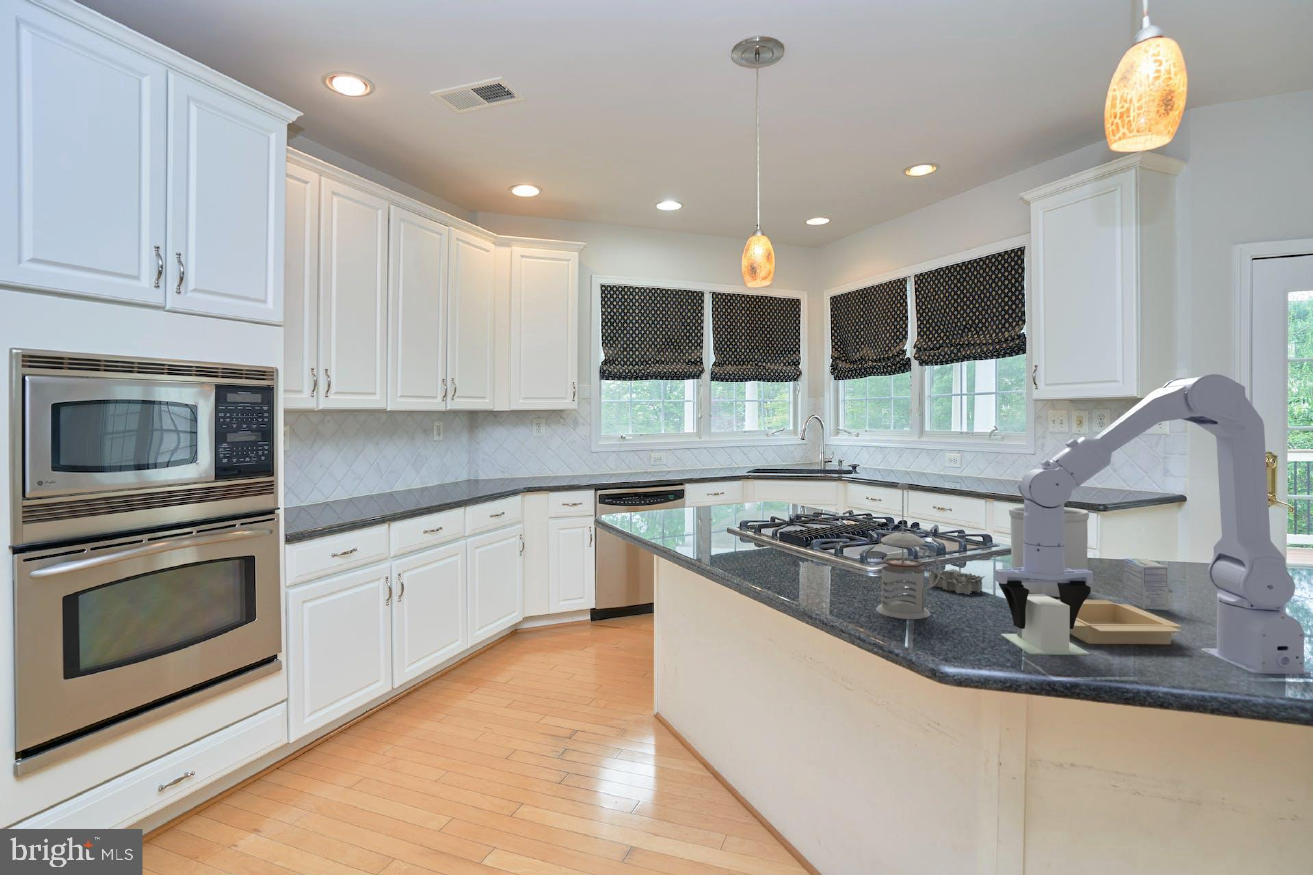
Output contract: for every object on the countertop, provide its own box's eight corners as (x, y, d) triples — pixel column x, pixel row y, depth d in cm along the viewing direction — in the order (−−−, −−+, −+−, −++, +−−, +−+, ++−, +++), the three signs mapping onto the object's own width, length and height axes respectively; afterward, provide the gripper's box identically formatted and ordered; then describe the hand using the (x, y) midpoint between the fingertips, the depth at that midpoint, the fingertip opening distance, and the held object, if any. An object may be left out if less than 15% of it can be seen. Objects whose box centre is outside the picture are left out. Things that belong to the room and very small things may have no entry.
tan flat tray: (1196, 651, 100) (1196, 630, 100) (1085, 651, 101) (1085, 629, 101) (1117, 617, 118) (1117, 599, 118) (1024, 616, 119) (1024, 598, 119)
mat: (1089, 656, 99) (1089, 653, 99) (1030, 656, 99) (1030, 652, 99) (1055, 637, 108) (1055, 633, 108) (1000, 637, 108) (1000, 633, 108)
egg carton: (923, 585, 144) (923, 567, 144) (948, 581, 147) (948, 564, 147) (962, 596, 134) (962, 577, 134) (988, 592, 137) (988, 573, 137)
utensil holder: (993, 584, 143) (993, 507, 142) (1041, 578, 148) (1041, 503, 148) (1054, 601, 129) (1055, 515, 129) (1105, 594, 134) (1106, 511, 134)
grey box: (1069, 650, 100) (1069, 605, 100) (1040, 650, 100) (1041, 605, 100) (1043, 635, 107) (1043, 593, 107) (1017, 635, 107) (1017, 593, 107)
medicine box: (1169, 612, 122) (1169, 567, 121) (1142, 610, 123) (1143, 566, 122) (1146, 600, 129) (1146, 558, 129) (1121, 599, 130) (1121, 557, 130)
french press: (881, 601, 130) (881, 479, 129) (943, 609, 124) (944, 481, 124) (870, 614, 122) (870, 483, 121) (936, 623, 116) (937, 486, 115)
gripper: (1074, 539, 107) (1073, 619, 107) (986, 539, 107) (985, 619, 107) (1102, 547, 100) (1101, 633, 100) (1007, 547, 100) (1007, 632, 100)
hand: (1043, 626), depth 103 cm, fingers open, 7 cm apart
